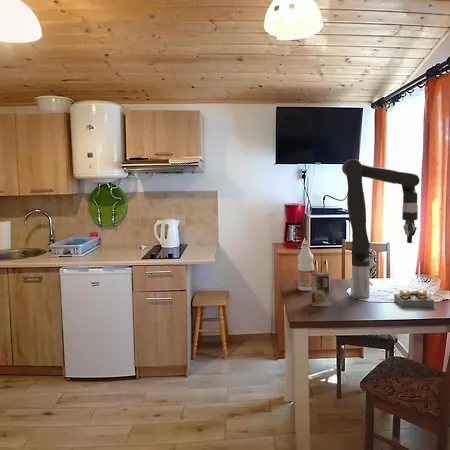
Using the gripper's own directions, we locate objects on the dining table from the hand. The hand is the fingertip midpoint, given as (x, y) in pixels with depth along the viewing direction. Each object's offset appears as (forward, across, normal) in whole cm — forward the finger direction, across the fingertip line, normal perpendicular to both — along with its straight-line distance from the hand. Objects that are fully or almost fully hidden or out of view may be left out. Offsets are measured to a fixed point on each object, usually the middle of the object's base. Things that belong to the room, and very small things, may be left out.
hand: (409, 242), depth 219 cm
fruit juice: (+29, -15, -54) cm, 63 cm away
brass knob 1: (+29, +17, -8) cm, 35 cm away
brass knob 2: (+29, +17, 0) cm, 34 cm away
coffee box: (+29, +15, -50) cm, 60 cm away
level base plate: (+29, +17, -4) cm, 34 cm away
